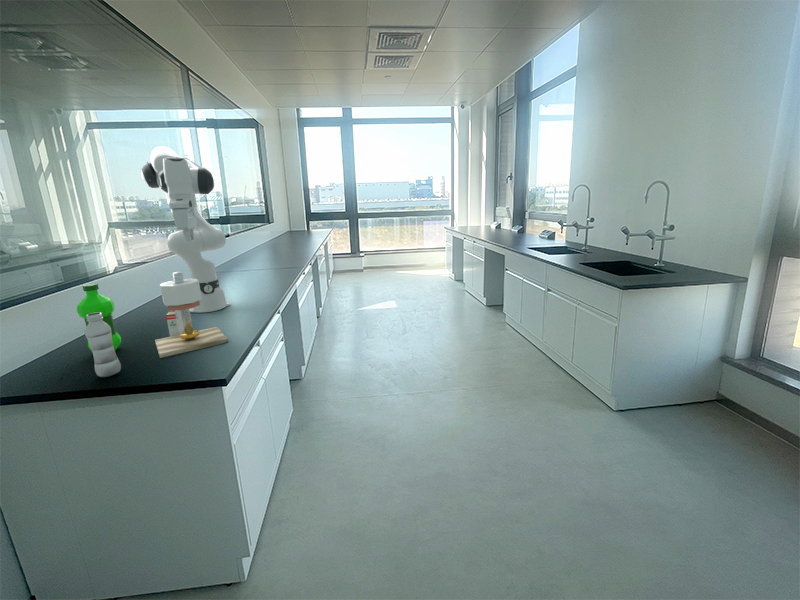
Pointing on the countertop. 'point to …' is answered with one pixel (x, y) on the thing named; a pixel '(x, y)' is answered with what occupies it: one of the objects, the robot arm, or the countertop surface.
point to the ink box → (174, 322)
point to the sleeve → (180, 292)
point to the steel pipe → (185, 314)
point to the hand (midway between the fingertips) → (190, 240)
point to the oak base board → (189, 342)
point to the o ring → (184, 306)
